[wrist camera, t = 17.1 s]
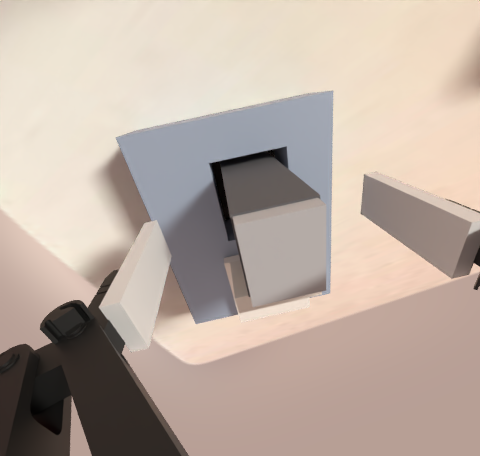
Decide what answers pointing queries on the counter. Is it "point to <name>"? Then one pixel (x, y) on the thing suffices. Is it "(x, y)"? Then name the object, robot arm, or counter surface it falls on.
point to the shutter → (244, 301)
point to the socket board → (205, 187)
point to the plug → (275, 228)
